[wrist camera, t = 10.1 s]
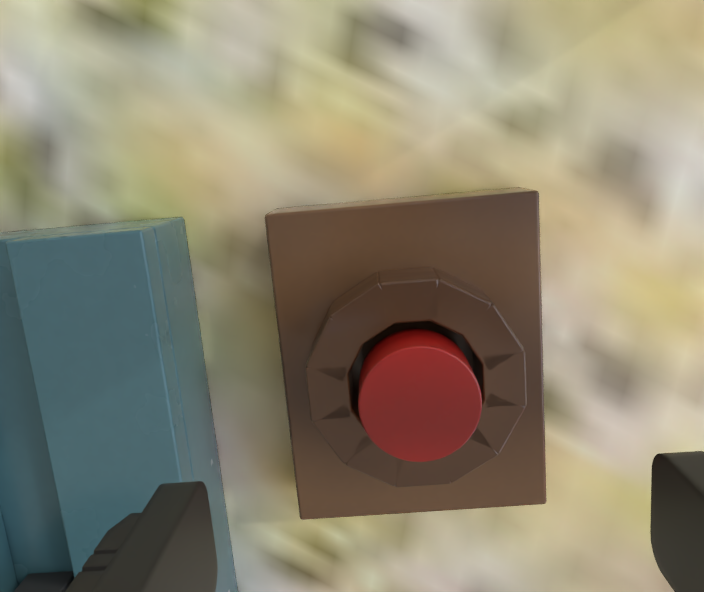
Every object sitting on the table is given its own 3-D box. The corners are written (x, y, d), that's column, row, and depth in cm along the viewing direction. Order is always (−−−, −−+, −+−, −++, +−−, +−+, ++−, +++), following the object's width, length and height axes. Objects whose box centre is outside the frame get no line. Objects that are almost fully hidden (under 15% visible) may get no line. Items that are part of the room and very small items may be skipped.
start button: (354, 332, 18) (353, 351, 16) (468, 324, 18) (479, 341, 16) (364, 438, 18) (363, 467, 17) (474, 430, 18) (485, 458, 16)
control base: (-109, 241, 21) (-237, 264, 17) (184, 216, 21) (133, 232, 16) (-9, 648, 25) (-94, 758, 20) (244, 634, 24) (216, 743, 20)
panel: (274, 208, 21) (252, 220, 17) (521, 186, 20) (558, 193, 16) (306, 486, 23) (293, 554, 19) (530, 471, 22) (564, 538, 18)
